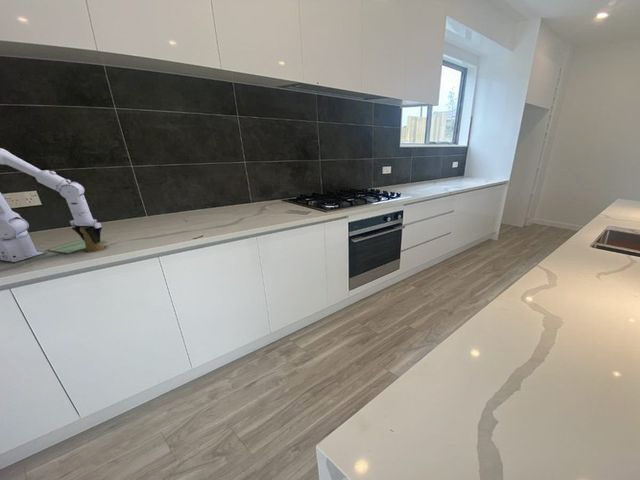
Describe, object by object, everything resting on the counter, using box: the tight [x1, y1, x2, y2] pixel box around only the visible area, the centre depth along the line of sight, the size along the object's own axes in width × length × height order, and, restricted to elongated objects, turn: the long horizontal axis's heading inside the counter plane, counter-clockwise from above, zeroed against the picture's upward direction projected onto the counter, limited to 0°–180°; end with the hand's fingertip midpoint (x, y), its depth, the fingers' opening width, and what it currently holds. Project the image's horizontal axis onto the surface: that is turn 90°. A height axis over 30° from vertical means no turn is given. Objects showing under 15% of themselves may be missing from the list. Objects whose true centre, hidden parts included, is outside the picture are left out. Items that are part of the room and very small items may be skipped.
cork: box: [79, 226, 105, 253], centre depth 131 cm, size 6×6×11 cm
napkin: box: [47, 239, 104, 255], centre depth 135 cm, size 14×12×1 cm
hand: (92, 241), depth 132 cm, fingers closed on cork, 5 cm apart
